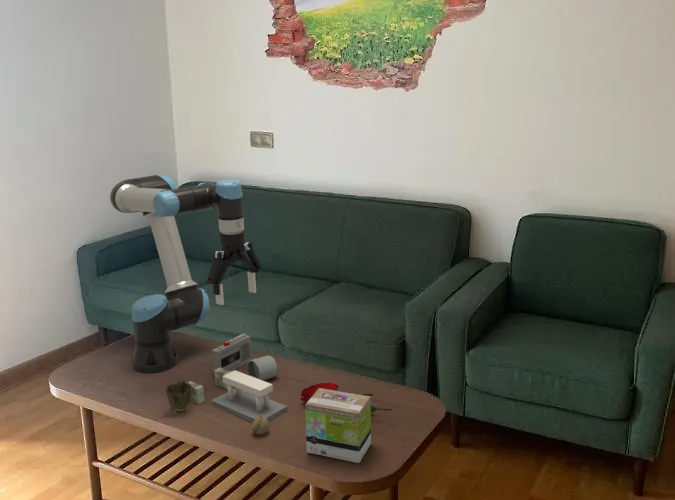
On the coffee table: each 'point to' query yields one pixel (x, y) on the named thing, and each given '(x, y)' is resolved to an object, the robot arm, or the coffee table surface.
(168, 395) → the cup
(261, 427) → the walnut
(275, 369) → the ceramic mug
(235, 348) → the cassette player
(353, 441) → the tea box
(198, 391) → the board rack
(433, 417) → the coffee table surface
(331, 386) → the flower
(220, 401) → the peg stand
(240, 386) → the shelf board
